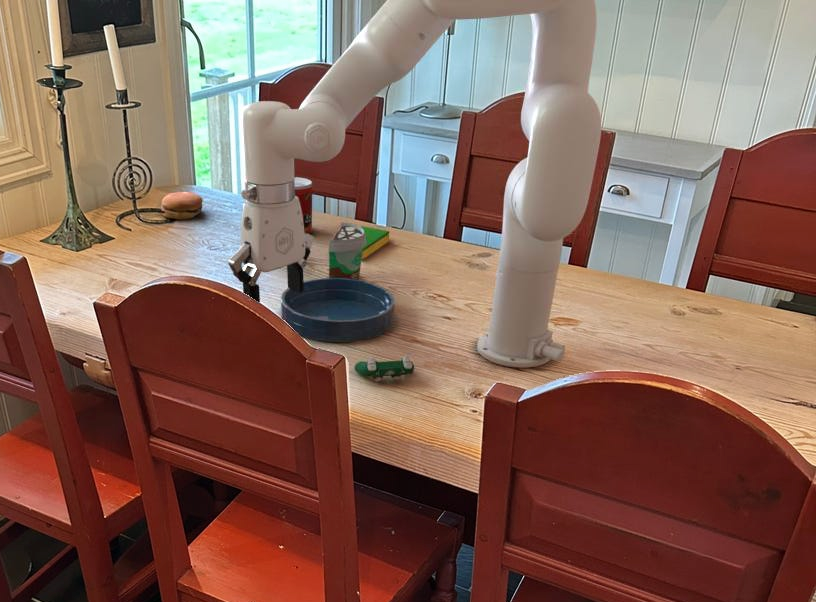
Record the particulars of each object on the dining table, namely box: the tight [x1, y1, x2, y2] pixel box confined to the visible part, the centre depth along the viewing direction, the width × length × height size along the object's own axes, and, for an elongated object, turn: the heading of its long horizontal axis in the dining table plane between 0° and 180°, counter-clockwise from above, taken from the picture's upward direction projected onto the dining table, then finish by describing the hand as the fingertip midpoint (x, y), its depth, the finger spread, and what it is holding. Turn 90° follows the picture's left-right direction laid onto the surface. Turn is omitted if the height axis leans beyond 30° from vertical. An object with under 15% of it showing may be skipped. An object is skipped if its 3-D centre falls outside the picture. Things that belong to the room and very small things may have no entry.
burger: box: [160, 190, 204, 221], centre depth 200 cm, size 10×9×5 cm
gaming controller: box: [354, 355, 415, 382], centre depth 133 cm, size 9×4×6 cm
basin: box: [280, 277, 396, 343], centre depth 151 cm, size 20×20×4 cm
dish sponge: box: [360, 225, 390, 260], centre depth 184 cm, size 7×14×2 cm, turn 153°
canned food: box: [294, 176, 313, 235], centre depth 190 cm, size 8×8×11 cm
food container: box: [328, 221, 367, 280], centre depth 165 cm, size 12×6×10 cm, turn 168°
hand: (274, 298), depth 138 cm, fingers open, 9 cm apart
